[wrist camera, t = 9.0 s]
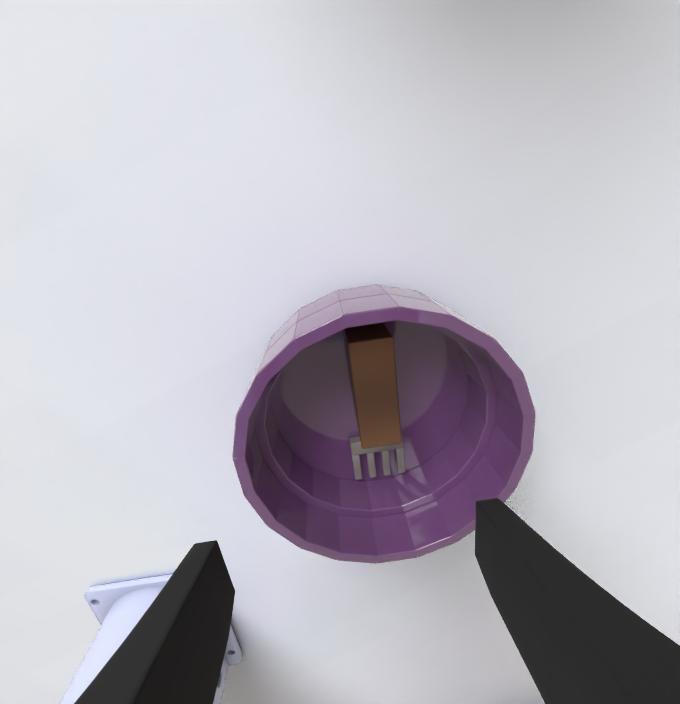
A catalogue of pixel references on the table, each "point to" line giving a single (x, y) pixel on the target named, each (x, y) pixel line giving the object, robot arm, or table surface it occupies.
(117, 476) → the table surface
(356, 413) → the fork with wooden handle
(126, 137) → the table surface
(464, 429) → the bowl
